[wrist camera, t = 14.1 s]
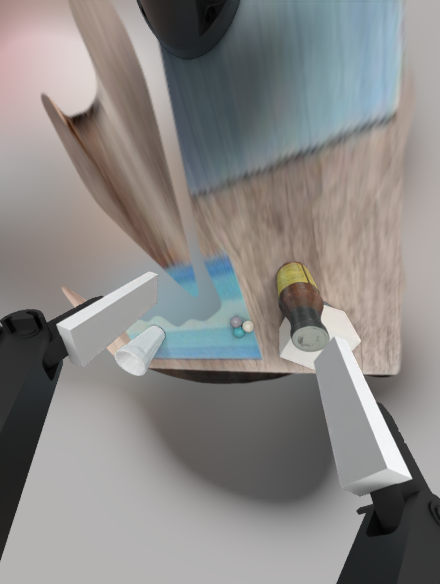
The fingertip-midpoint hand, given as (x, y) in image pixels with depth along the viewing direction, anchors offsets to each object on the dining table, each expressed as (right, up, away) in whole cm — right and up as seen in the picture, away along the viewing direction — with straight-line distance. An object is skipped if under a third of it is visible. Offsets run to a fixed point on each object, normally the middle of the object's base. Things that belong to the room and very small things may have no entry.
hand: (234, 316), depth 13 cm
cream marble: (+7, -6, +33) cm, 34 cm away
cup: (-22, -12, +46) cm, 52 cm away
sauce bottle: (+14, +6, +24) cm, 29 cm away
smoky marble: (+3, -5, +33) cm, 34 cm away
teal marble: (+4, -8, +35) cm, 36 cm away
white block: (+19, -5, +27) cm, 34 cm away
